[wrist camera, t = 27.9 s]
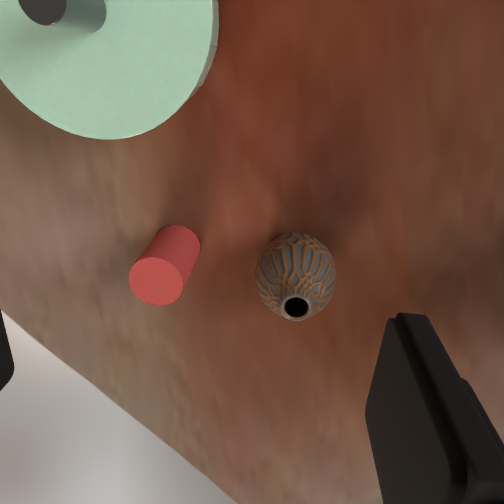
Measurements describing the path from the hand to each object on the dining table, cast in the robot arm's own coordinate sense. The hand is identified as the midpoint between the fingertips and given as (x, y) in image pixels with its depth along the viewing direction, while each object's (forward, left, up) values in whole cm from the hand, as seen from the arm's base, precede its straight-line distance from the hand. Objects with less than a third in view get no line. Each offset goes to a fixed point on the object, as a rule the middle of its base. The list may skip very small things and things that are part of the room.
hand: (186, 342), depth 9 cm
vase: (-10, -4, -26) cm, 29 cm away
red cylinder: (-10, +7, -26) cm, 29 cm away
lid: (+9, +11, -21) cm, 25 cm away
